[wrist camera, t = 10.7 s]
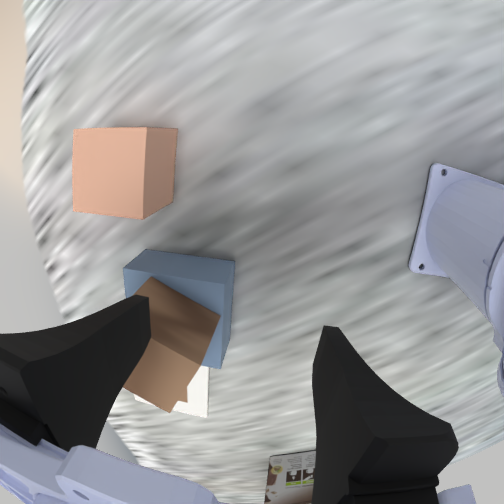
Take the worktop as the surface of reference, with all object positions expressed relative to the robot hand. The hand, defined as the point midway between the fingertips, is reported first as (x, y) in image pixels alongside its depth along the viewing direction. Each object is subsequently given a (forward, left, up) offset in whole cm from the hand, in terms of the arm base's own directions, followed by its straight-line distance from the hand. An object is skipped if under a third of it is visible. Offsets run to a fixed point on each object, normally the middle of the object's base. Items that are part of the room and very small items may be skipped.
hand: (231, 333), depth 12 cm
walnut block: (+5, +5, -7) cm, 10 cm away
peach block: (+9, -5, -10) cm, 15 cm away
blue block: (+5, +5, -11) cm, 13 cm away
